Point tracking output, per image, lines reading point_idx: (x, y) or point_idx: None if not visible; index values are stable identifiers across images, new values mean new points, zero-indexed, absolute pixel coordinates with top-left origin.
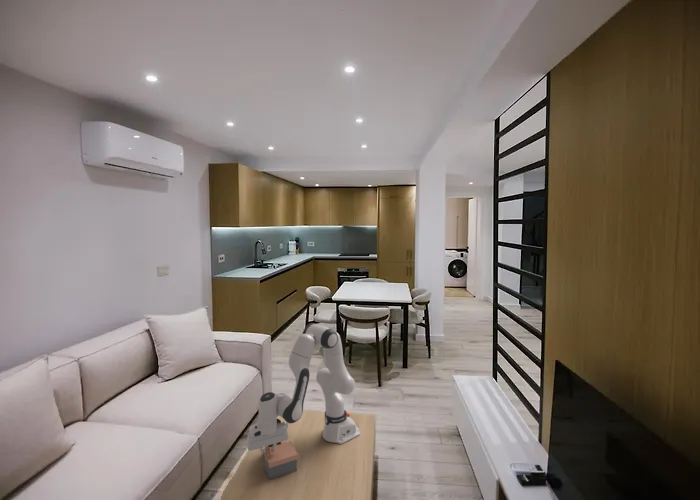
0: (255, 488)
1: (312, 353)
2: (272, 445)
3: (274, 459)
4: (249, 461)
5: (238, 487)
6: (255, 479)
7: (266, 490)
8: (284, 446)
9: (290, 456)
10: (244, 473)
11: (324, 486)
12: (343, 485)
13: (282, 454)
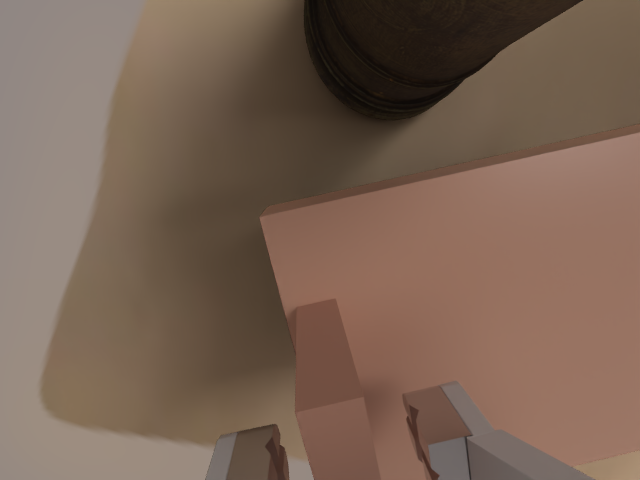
0: (227, 405)
1: None
2: (426, 58)
3: (415, 471)
4: (148, 85)
5: (102, 376)
6: (222, 326)
7: (299, 432)
8: (621, 232)
9: (619, 452)
10: (124, 242)
11: (631, 458)
12: None
13: (537, 400)
